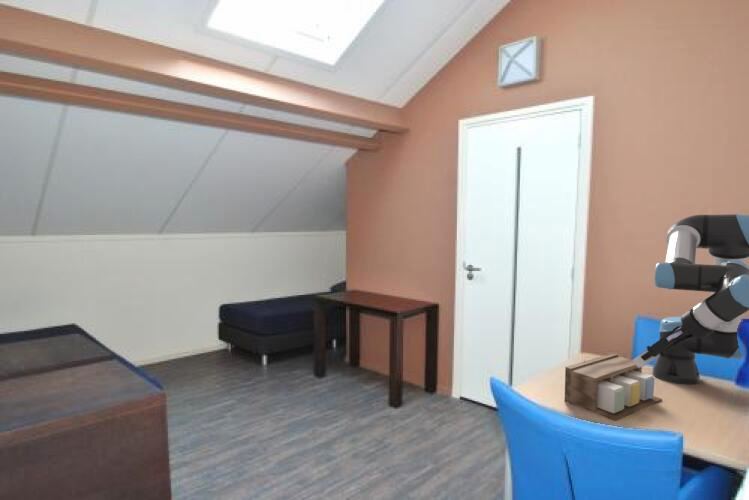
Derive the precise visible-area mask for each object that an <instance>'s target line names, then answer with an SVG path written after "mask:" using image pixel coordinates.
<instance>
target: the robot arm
mask: <svg viewBox="0 0 749 500" xmlns="http://www.w3.org/2000/svg"><path fill="white" fill-rule="evenodd" d="M665 238H666V243H667V251H666V257H665V261H664V262H658V263H656V264H655V268H654V269H655V270H654V284H655V286H656V287H657V288H660V289H667V290H681V291H695V292H707V293H711V294H710V296H708V297H706V298H705V299H704V300H702V301H701V302H699V303H697V304H696V305H695V306H693V308H692V309H691V308H690V310H687V311H686V312H685V313H684V314H682V315H681V316H669V317H665V318H662V319H661V321H660V326H659V330H658V331H659V340H657V341H656V342H655V343H653V344H652V345H647V346H646V350H645V351H643V352H642V353H641V354H639V355H637V356H635V358H633V359H632V360H633V361H634V363H635V364H636V365H637V367H638V368H640V367H642V368H643V367H645V366H646V365H647V364H649V363H651V362H652V361H654V360H655V359H656V361H655V363H654V365H653V367H652V376H653V377H654V378H657V379H660V380H662V381H665V382H668V383H673V384H682V385H695V384H698V383H700V382H701V381H700V378H701V377H700V376H701V375H700V372H699V369H698V366H697V363H696V354H697V355H703V356H711V357H717V358H723V359H724V358H725V359H727V360H728V359H733V360H741V359H743V358H744V357H743V355H742V353H741V351H740V349H739V346H738V340H737V328H738V325H739V323H740V322H741V321H742V320H741V316H742V315H743V314H746V312H748V311H749V265H747V264H746V260H747V259H749V214H739V213H736V214H695V215H690V216H688V217H684V218H682V219H680V220H679V221H677V222H675V223H674V224H673V225H672V226H671V227H670V228H669V229H668V230H667V234H666V237H665ZM697 249H707V250H708V255H710V256H711V257H712V258H713V263H712V264H700V263H699V264H697V263H696V257H697V256H696V255H697Z"/></svg>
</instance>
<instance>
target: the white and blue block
mask: <svg viewBox="0 0 749 500" xmlns="http://www.w3.org/2000/svg"><path fill="white" fill-rule="evenodd" d="M628 378H630V379H634V380H637V381H639V383H640V397H639V399H641V400H647V399H649V398H651V397H653V396H655V393H654V392H655V391H654V388H655V377H654V375H653V374H652V375H651V374H650V373H649V374H647V373H644V372H638V371H635V370H630V371H628Z"/></svg>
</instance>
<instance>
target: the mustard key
mask: <svg viewBox="0 0 749 500" xmlns="http://www.w3.org/2000/svg"><path fill="white" fill-rule="evenodd" d="M613 383H614V384H617V385H620V386H623V387H624V389H625V399H624V405H626V406H629V407H630V406H633V405H635V404H637V403H639V397H640V383H639V381H637V380H634V379H630V378H627V377H624V376H620V375H615V376H613Z"/></svg>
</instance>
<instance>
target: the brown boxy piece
mask: <svg viewBox="0 0 749 500" xmlns="http://www.w3.org/2000/svg"><path fill="white" fill-rule="evenodd" d="M642 368H643V367H640V368H638V367H637V365H636V364H635V363H634V361H633V359H630V358H626V357H623V356H619V354H617V353H614V352H613V353H609V354H605V355H602V356H599V357H595V358H592V359H588V360H583V361H581V362H578V363H575V364H571V365H568V366H565V369H564V371H565V373H564V374H565V375H564V402H565V403H568V404H571V405H573V406H576V407H578V408H581V409H583V410H587V411H589V412H591V413H594V414H596V415H598V416H602V417H605V418H607V419H609V420H612V421H615V422H616V421H618V420H621V419H623V418H626V417H627V416H630V415H632V414H634V413H635V414H636V413H638V412H639V411H641V410H643V409H646V408H648V407H650V406H652V405H655V404H657V403H659V402H662V401H663V399H662V398H660V397H657V396H655V395H654V396H653V397H651V398H649V399H647V400H641V399H639V403H637V404H635V405H633V406H630V407H629V406H626V405H624V409H623V410H621V411H618V412H616V413H611V412H609V411H606V410H603V409H601V408H598V407H597V386H598V381H601V380H604V381H607V382H610V383H613V376H615V375H620V376H624V377H627V378H628V371H630V370H635V371H638V372H642V371H643V369H642ZM642 373H643V372H642Z"/></svg>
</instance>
